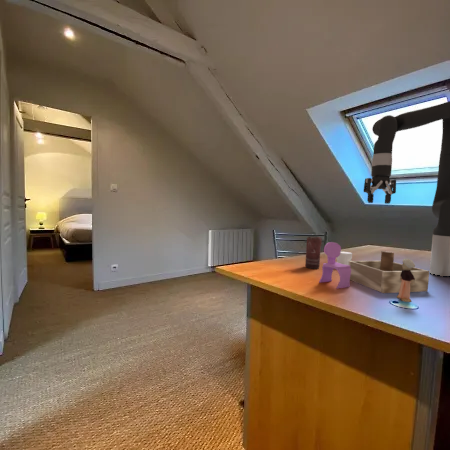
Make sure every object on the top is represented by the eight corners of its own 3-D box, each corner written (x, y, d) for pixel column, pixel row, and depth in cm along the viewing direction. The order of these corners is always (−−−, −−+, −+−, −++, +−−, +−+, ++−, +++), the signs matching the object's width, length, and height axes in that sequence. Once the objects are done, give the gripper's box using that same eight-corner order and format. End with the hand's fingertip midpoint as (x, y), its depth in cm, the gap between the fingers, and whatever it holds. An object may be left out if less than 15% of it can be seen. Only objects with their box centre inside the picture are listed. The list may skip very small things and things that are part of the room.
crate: (386, 277, 115) (388, 260, 114) (427, 291, 97) (429, 271, 97) (347, 278, 111) (348, 261, 110) (382, 293, 93) (384, 272, 93)
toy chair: (336, 289, 96) (339, 245, 95) (316, 282, 103) (319, 241, 102) (352, 286, 99) (355, 244, 98) (332, 280, 107) (335, 241, 106)
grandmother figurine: (390, 295, 90) (393, 256, 89) (401, 296, 91) (404, 256, 90) (407, 304, 83) (411, 261, 82) (420, 304, 83) (423, 261, 82)
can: (320, 269, 126) (322, 238, 125) (305, 268, 127) (307, 237, 126) (319, 266, 132) (320, 236, 131) (304, 265, 133) (306, 235, 132)
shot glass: (350, 266, 135) (351, 251, 134) (352, 269, 128) (353, 254, 128) (335, 265, 137) (336, 250, 137) (335, 267, 131) (336, 252, 130)
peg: (385, 283, 106) (388, 251, 105) (394, 286, 102) (396, 253, 102) (376, 283, 105) (378, 251, 105) (384, 286, 101) (387, 253, 101)
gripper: (388, 167, 127) (386, 203, 128) (361, 165, 124) (358, 202, 125) (402, 165, 120) (399, 203, 121) (373, 162, 116) (371, 202, 118)
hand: (378, 203), depth 123 cm, fingers open, 8 cm apart
